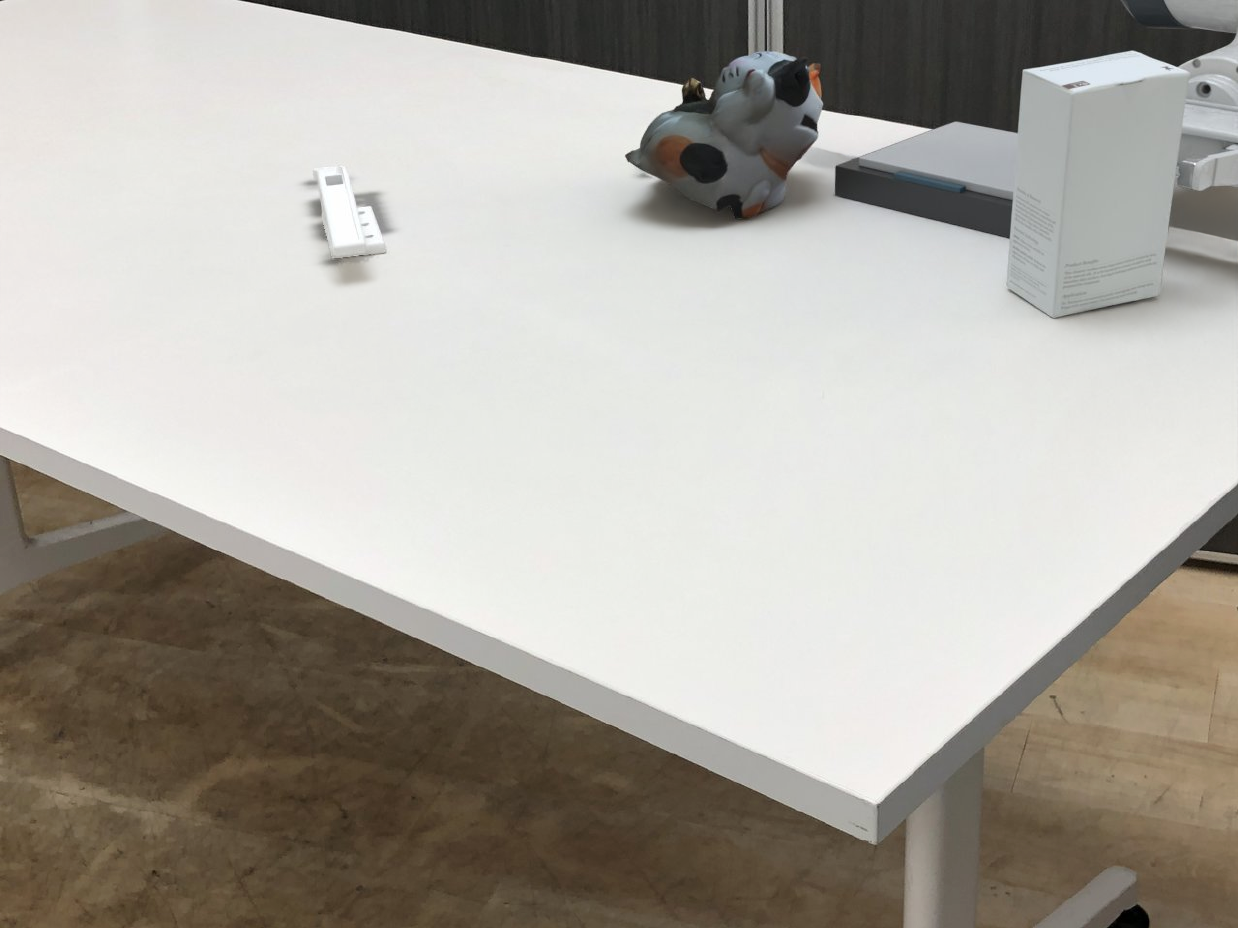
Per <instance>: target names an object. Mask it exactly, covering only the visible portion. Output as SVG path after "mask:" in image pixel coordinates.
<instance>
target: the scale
mask: <svg viewBox="0 0 1238 928" xmlns="http://www.w3.org/2000/svg"><path fill="white" fill-rule="evenodd" d="M1017 138H1018V132H1014V131H1007V130H1002V129H996V128H993V127H986V126H981V125H976V124H971V123H965V122H961V121H953V122H950V123H946V124H943V125H941V126H938V127H935V128H932V129H930V130H928V131H924V132H922V133H919V134H917V135H914V136H911V137H907V138H906V139H903V140H899V141H898V142H895V143H893V144H890V145H887V146H884V147H881V148H879V149H876V150H874V151H871V152H869V153H865V154H863V155H861V156H858V157H855V158H853V159H849V160H847V161H845V162H842V163H840V164H836V165H835V167H834V169H835V170H834V196H837V197H841V198H846V199H848V200H854V201H858V202H862V203H866V204H870V205H873V206H877V207H881V208H887V209H890V210H895V211H899V212H902V213H907V214H911V215H915V216H918V217H923V218H928V219H931V220H936V221H939V222H942V223H943V222H944V223H948V224H952V225H956V226H960V227H964V228H969V229H971V230H976V231H980V232H984V233H989V234H993V235H996V236H1000V237H1005V238H1009V239H1010V231H1011V216H1012V204H1013V192H1014V178H1015V165H1016V152H1017Z"/></svg>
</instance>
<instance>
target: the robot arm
mask: <svg viewBox="0 0 1238 928" xmlns="http://www.w3.org/2000/svg"><path fill="white" fill-rule="evenodd" d="M1120 2H1121V3H1122V5H1123V6H1124V8H1125V9H1126V11H1127V12H1128V13H1129V14H1130V16H1132V18H1133V19H1134V20H1135V21H1136V22H1137V23H1138V24H1139V25H1140V26H1142V27H1143V28H1147V29H1166V30H1167V29H1172V30H1196V29H1200V30H1208V31H1214V32H1223V33H1229V34H1230V33H1231V34H1235V36H1234V39H1233V40H1232V41H1231V42H1230V43H1229V44H1227V45H1225V46H1223V47H1221V48H1218V49H1216V50H1213V51H1210V52H1208V53H1204V54H1202V55H1200V56H1197V57H1194V58H1193V59H1190V60H1188V61H1186V62H1184V63H1182V64H1180V65H1179V66H1177V67H1178V68H1180V69H1183V70H1186V71H1187V72H1189V73H1190V77H1189V82H1188V88H1187V95H1186V102H1185V110H1184V117H1183V124H1182V131H1181V139H1180V146H1179V153H1178V161H1177V168H1176V175H1175V176H1177V179H1176V185H1177V186H1178V188H1183V189H1188V190H1193V191H1198V192H1202V191H1205V190H1206V189H1208V188H1210V187H1225V186H1229V187H1234V188H1238V0H1120Z"/></svg>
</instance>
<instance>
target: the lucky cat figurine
mask: <svg viewBox="0 0 1238 928" xmlns="http://www.w3.org/2000/svg"><path fill="white" fill-rule="evenodd" d="M809 60H810V59H809V58H808V57H807V56H801V57H798V58H797V57H796V56H792V55H789V54H786V53H783V52H778V51H769V50H768V51H767V50H765V51H756V52H754V53H753V54H749V55H744V56H740V57H737V58H735V59H734V60H732V61H730V62H729V63H728V65H727V66H726V67H724V68H722V69H721V70H722V71H721V73H720V74H719V76H718V77H717V79H716V82H715V85H714V87H713V90H712V91H711V93H710V96H709V98H708V99H707V97H706V92H705V89H704V86H703V83H702V82H701V81H699V80H697V79H695V78H694V77H690V78H689V79H688V80H687V81H686V82H685V83H684V84H683V85H682V87H681V97H682V102H681V103H680V104H679V105H676V106H675V107H674V109H671V110H667V111H664V112H661V113H660V114H659V115H658V116H656V117H655V118H654V119H653V120H652V121H651V122H650V124H648V126H647V128H646V130H645V131H644V133H643V135H642V137H641V140H640V143H639V148H636V149H634V150H633V149H632V150H630V151H628V152H627V153H626V154H625V155H624V158H625V159H626V161H627V163H630V164H631V165H633V166H634V167H635V168H638V169H639V170H640V171H643V172H644V173H646V174H649V175H651V176H653V177H655V178H657V179H659V180H661V181H663V182H665V183H666V184H668V185H670V186H672V187H674V188H675V189H676V190H677V191H678V192H679V193H680V194H682V195H683V196H685V198H688V199H689V200H691V201H693V202H696V203H698V204H701V205H703V206H706V207H708V208H710V209H713V210H715V211H718V212H720V211H722V210H724V209H728V208H730V210H731V212H732V215H733V218H734V219H736V220H739V219H740V220H747V219H749V218H751V217H754V216H756V215H758V214H761V213H763V212H765V211H767V210H770V209H772V208H774V207H777V206H778V205H779V204H782V202H783V200H784V199H785V195H786V193H787V192H786V191H787V179H788V174H789V172H790V171H791V170H792V168H793V167H794V166H795V164H796V163H797V162H798V161H799V160H801V159H802V158H803V157H804V155H805V154H806V153H807V152H808V151H809V149H810V148H811V147H812V146H813V145H814V144H815V143H816V141H817V140H818V138H819V131H818V123H819V119H820V116H821V114H822V111H823V107H824V102H823V101H822V95H823V94H822V84H821V80H820V78H819V74H820V71H821V69H822V68H821V66H822V65H821V64H820V63H816V62H815V63H811V64H809V65H808V62H809Z"/></svg>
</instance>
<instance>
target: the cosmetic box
mask: <svg viewBox="0 0 1238 928" xmlns="http://www.w3.org/2000/svg"><path fill="white" fill-rule="evenodd" d="M1178 67H1179V66H1175V65H1172V64H1170V63H1167V62H1165V61H1162V60H1158V59H1156V58H1153V57H1150V56H1148V55H1146V54H1144V53H1142V52H1140V51H1139V52H1138V51H1136V50H1128V51H1123V52H1116V53H1111V54H1106V55H1102V56H1097V57H1091V58H1085V59H1080V60H1075V61H1069V62H1068V61H1067V62H1062V63H1056V64H1051V65H1045V66H1040V67H1039V66H1038V67H1031V68H1025V69H1023V70H1022V75H1021V88H1020V100H1019V113H1018V126H1017V133H1018V138H1017V152H1016V165H1015V178H1014V192H1013V204H1012V216H1011V231H1010V238H1009V245H1008V257H1007V271H1006V287H1007V288H1008V289H1009V290H1010V291H1011V292H1013V293H1015V294H1016V295H1018V296H1019V297H1021V298H1022V299H1024V300H1025V301H1027V302H1028V303H1029V304H1031V305H1033V306H1034V307H1035V308H1037V309H1038V310H1040V311H1041V312H1043V313H1044V314H1045V315H1048V316H1049V317H1050V318H1052V319H1056V318H1060V317H1065V316H1068V315H1073V314H1078V313H1083V312H1087V311H1092V310H1097V309H1101V308H1106V307H1110V306H1116V305H1120V304H1121V305H1122V304H1125V303H1130V302H1134V301H1135V302H1136V301H1141V300H1145V299H1146V300H1147V299H1151V298H1154V297H1159V296H1160V293H1161V287H1162V280H1163V271H1164V265H1165V256H1166V249H1167V241H1168V234H1169V226H1170V218H1171V212H1172V203H1173V197H1174V190H1175V184H1176V176H1177V175H1176V168H1177V161H1178V153H1179V146H1180V139H1181V131H1182V124H1183V117H1184V110H1185V102H1186V95H1187V88H1188V82H1189V77H1190V73H1189V72H1187V71H1186V70H1183V69H1180V68H1178Z"/></svg>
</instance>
